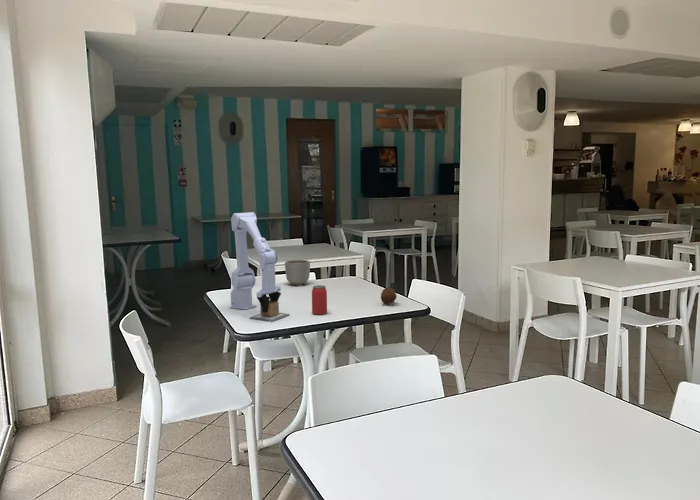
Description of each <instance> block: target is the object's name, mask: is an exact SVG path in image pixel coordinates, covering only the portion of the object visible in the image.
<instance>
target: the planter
mask: <svg viewBox="0 0 700 500" xmlns="http://www.w3.org/2000/svg"><path fill="white" fill-rule="evenodd" d="M284 269H285V276H286V281H288V282H289V283H290V285H291V286H293V285H302V286H304V285H305V284H306V283H307V282H308V281H309V278H310V270H311V262H310V260H307V259H292V260H286V261H284ZM303 284H304V285H303Z"/></svg>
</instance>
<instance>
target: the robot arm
mask: <svg viewBox="0 0 700 500" xmlns="http://www.w3.org/2000/svg"><path fill="white" fill-rule="evenodd" d="M230 220H231V221H230V223H231V231H232V232H234V242H235V244H234V245H235V254H236V268H235V269H234V270H233V271H232V272H231V280H230V281H231V286H232V289H231V291H230V306H229V308H230V309H237V310H249V309H252V308H254V307H257V305H256V304H253V292H252V291H253V290H252V289H253V288H254V287H255V285H256V282H257V281H256V276H255V272H254V269H252V268H251V267H249V256H248V243H247V240H248V239H247V232H248V234H249V235H250V237H251V238H252V240H253V244H252V246H253V247H254V249H255V251H256V253H257V254H258V259H257V260H258V263H259V269H260V270H261V289H260V290H259V291H257V292H256V299H257V300H258V302H259V305H260V304H261V307H262V311H263V312H268V303H269V300H270V301H277V302H279V298H280V297H281V296H282V292H281V289H282V288H281V286H280V285H279V286H278V285H277V286H276V264H277V262H278V254H277V252H276V250H274V249H273V248H271V247H270V246H269V243H268V242H267V239H266V238H265V237H262V235H261V232H260V230H259V228H258V226H257V224H258V223H257V222H258V218H257V215H256V213H255V212H253V211H251V212H234V213H233V214H232V216H231V219H230Z"/></svg>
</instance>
